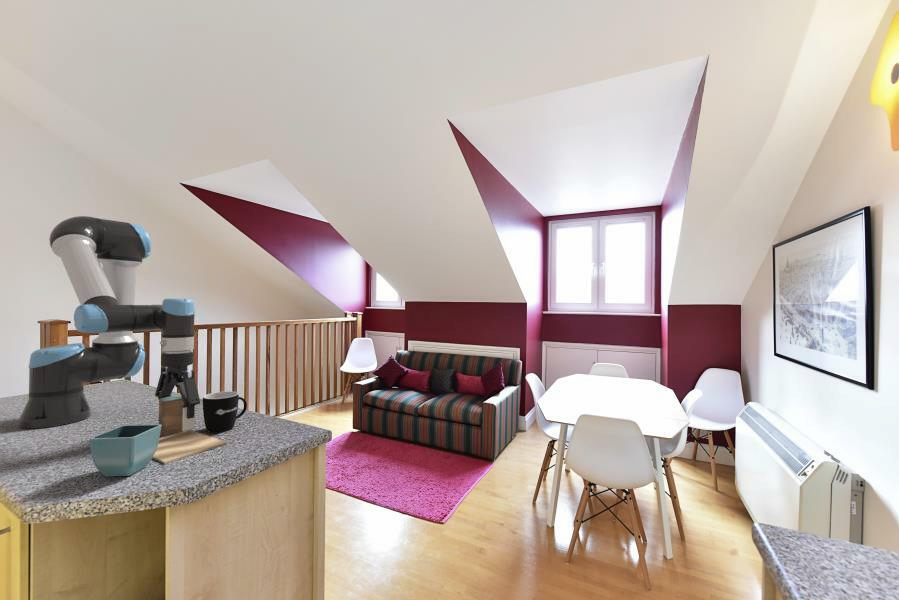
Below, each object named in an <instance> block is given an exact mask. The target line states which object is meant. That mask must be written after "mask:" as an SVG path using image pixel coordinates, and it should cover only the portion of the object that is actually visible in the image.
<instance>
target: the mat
mask: <svg viewBox="0 0 899 600" xmlns="http://www.w3.org/2000/svg"><path fill="white" fill-rule="evenodd" d="M225 445H228V442H227V441H225V440H221V439H220V438H219V439H218V438H216V437H214V436H210V435H207V434H204V433H201V432H198V431H196V430H195V431H194V430H193V429H192V430H188V431H185V432H181V433H177V434H173V435H170V436H166V437H165V436H162V437H159V442H158V447H157V449H156V452H155V454H154V456H153V457H152V459H153V460H155V461H157V462H159V463H162V464H163V465H166V464H170V463H173V462H176V461H178V460H182V459H186V458H188V457H191V456H195V455H197V454H200V453H203V452H206V451H210V450H212V449H216V448H219V447H222V446H225ZM152 459H151V460H152Z"/></svg>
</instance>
